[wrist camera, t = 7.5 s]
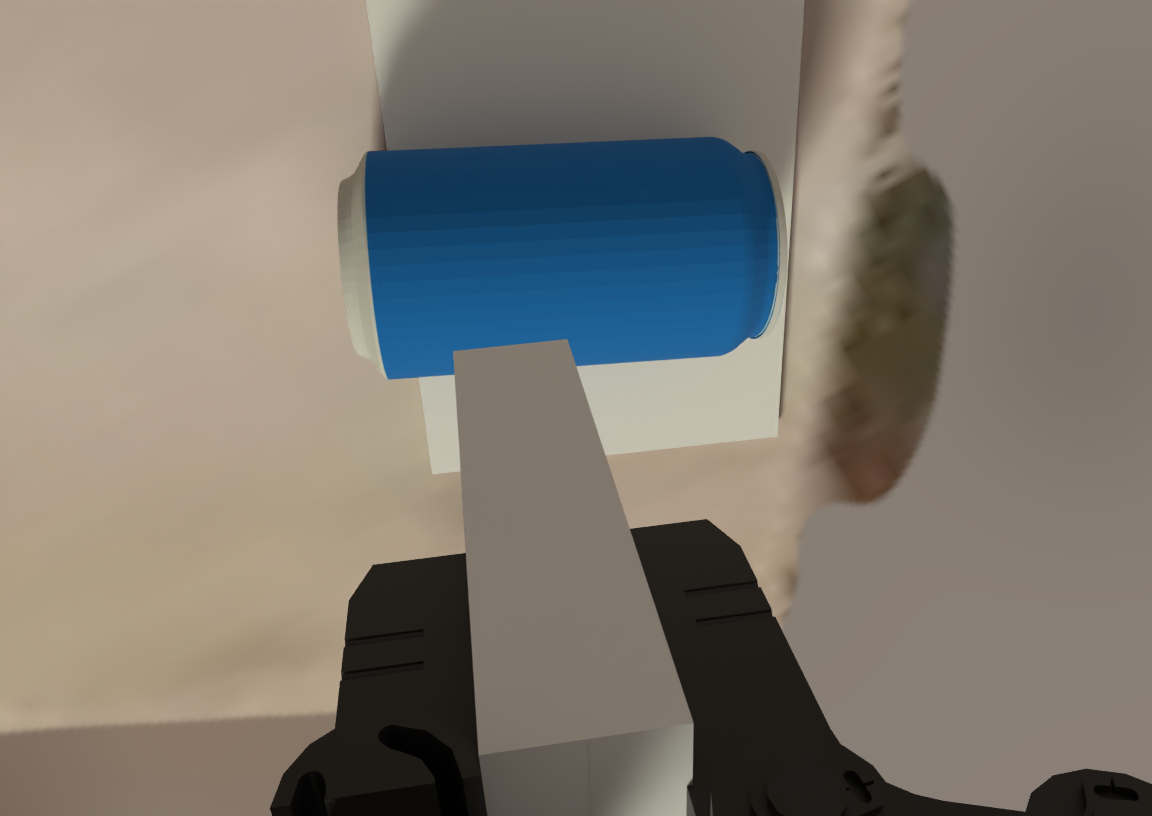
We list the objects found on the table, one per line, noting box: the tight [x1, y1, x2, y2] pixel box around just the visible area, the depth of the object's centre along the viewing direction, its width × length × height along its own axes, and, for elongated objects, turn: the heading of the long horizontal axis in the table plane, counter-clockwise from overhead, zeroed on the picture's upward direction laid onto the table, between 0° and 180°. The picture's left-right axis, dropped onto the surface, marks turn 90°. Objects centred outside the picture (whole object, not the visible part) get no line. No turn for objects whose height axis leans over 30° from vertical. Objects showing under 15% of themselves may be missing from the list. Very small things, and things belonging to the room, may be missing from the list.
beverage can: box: [338, 137, 787, 379], centre depth 27 cm, size 6×6×12 cm
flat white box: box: [366, 0, 805, 474], centre depth 30 cm, size 22×13×1 cm, turn 3°
